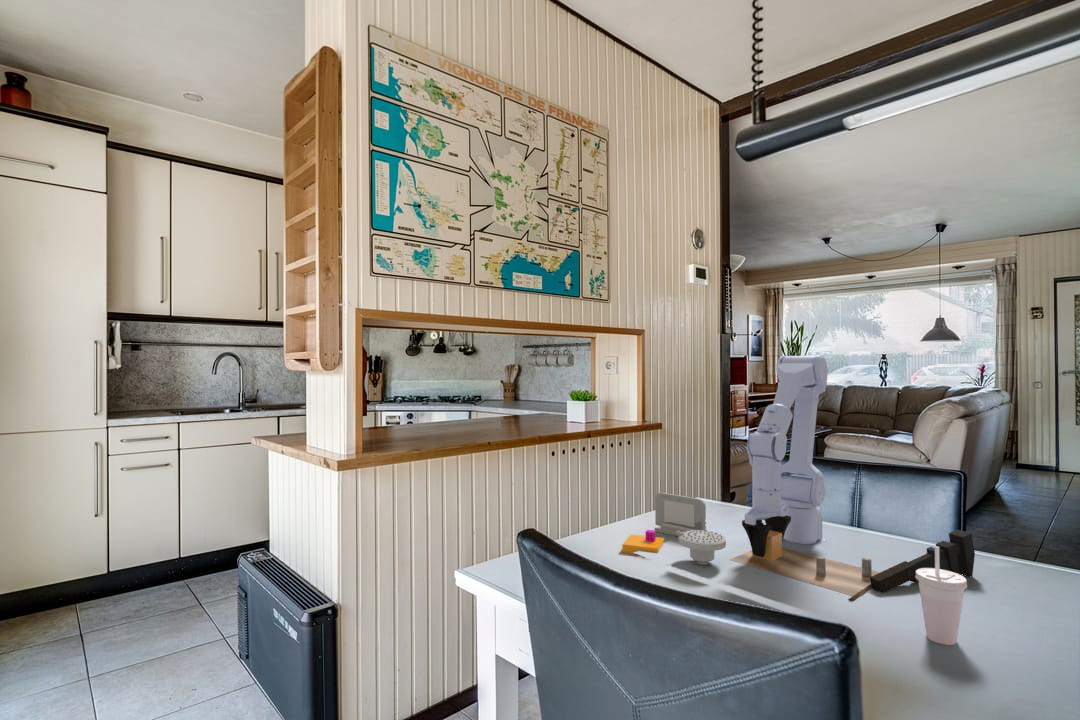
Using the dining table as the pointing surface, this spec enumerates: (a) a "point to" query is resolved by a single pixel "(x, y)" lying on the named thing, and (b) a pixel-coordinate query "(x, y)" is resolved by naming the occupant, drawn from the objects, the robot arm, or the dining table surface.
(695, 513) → the handheld gaming console
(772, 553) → the orange wooden toy cube
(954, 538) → the adjustable wrench
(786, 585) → the dining table surface
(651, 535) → the orange block with knob
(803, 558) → the board
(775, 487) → the robot arm
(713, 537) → the showerhead
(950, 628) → the smoothie
